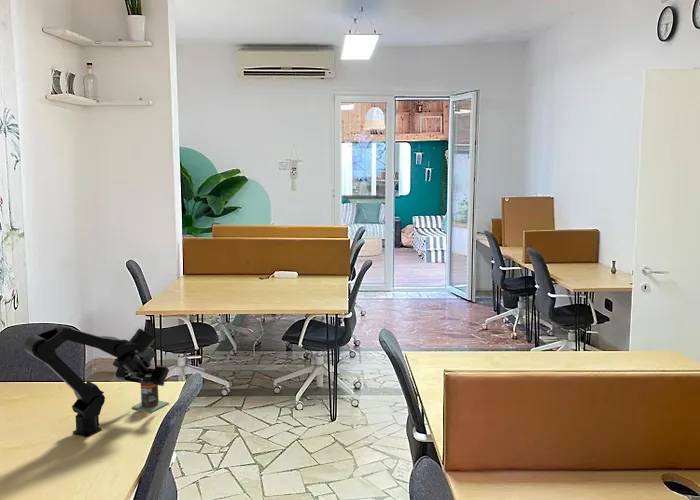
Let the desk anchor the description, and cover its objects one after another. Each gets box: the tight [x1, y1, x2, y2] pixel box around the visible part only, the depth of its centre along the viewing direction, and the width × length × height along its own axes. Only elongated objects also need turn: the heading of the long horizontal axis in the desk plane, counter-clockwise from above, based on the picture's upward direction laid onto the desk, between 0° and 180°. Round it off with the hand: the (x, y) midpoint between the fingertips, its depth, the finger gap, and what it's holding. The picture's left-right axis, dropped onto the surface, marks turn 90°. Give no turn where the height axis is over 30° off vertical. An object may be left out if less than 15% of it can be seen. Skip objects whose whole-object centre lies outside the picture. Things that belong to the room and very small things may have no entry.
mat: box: [131, 399, 170, 414], centre depth 230 cm, size 9×9×1 cm
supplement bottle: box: [140, 375, 160, 407], centre depth 229 cm, size 6×6×11 cm
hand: (152, 383), depth 230 cm, fingers open, 9 cm apart
